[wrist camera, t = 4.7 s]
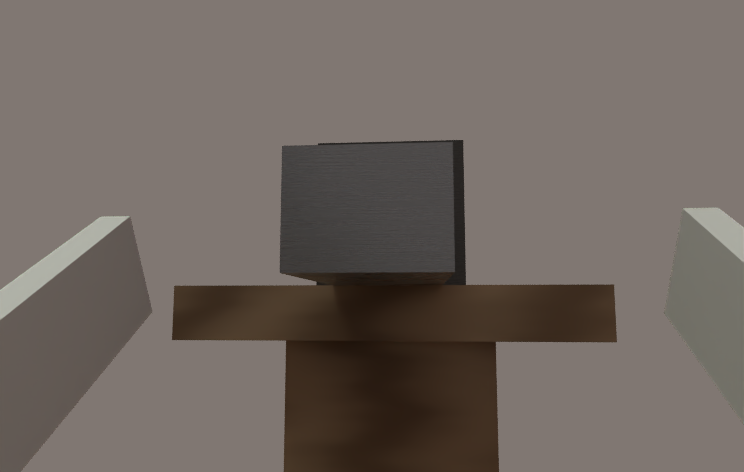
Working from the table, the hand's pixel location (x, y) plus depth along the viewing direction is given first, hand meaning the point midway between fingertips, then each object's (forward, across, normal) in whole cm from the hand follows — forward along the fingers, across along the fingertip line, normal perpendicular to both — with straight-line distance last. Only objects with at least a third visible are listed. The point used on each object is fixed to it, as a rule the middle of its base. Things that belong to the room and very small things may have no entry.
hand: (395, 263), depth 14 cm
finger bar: (+6, -1, -4) cm, 7 cm away
